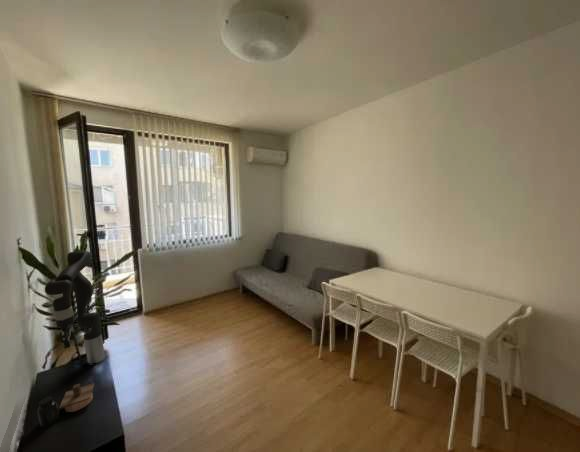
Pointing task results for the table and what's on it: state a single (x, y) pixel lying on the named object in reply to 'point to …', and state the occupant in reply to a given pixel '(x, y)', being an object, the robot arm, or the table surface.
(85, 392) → the lid
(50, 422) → the supplement bottle
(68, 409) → the bowl
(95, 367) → the table surface
